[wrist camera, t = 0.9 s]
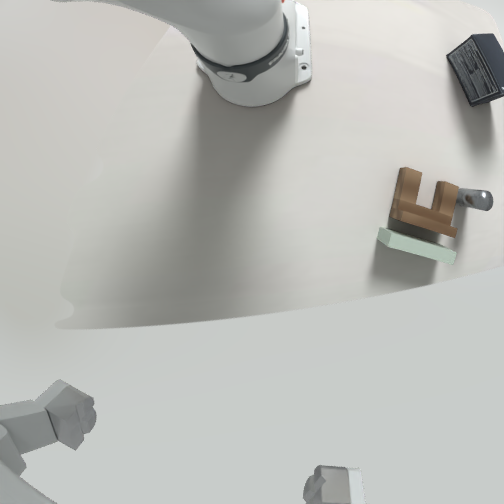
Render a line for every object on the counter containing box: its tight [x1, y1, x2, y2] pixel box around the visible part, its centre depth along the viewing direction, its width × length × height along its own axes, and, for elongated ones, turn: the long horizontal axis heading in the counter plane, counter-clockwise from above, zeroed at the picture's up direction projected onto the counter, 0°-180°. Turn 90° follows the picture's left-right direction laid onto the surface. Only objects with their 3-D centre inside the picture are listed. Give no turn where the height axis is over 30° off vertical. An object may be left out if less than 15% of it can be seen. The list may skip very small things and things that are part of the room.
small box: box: [446, 34, 504, 107], centre depth 30 cm, size 11×6×10 cm, turn 23°
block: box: [389, 167, 459, 238], centre depth 40 cm, size 8×10×6 cm
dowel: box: [456, 188, 493, 211], centre depth 37 cm, size 3×3×8 cm
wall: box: [377, 227, 457, 265], centre depth 41 cm, size 2×12×6 cm, turn 79°
